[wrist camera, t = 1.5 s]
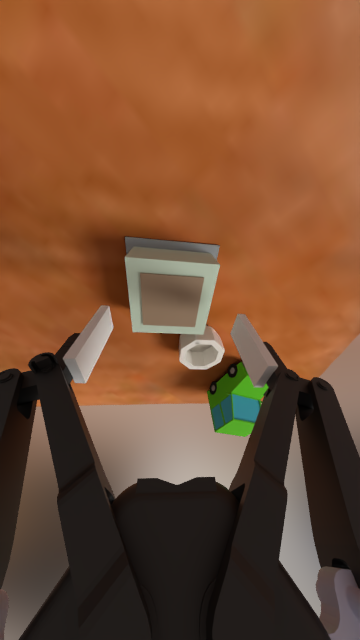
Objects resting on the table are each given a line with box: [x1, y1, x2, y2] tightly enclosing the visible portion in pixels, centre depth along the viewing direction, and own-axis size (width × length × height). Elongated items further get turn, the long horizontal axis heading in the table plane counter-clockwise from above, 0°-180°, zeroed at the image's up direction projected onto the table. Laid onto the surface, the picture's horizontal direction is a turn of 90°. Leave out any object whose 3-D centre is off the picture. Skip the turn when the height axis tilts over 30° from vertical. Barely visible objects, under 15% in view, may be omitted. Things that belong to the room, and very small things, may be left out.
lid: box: [125, 247, 220, 335], centre depth 21 cm, size 10×10×5 cm
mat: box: [125, 237, 220, 260], centre depth 24 cm, size 12×12×1 cm
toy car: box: [207, 362, 268, 437], centre depth 35 cm, size 10×13×10 cm
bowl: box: [179, 325, 225, 369], centre depth 29 cm, size 8×8×4 cm
